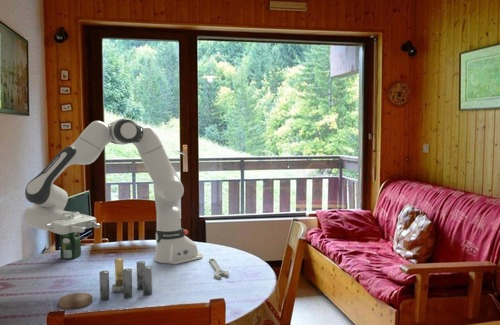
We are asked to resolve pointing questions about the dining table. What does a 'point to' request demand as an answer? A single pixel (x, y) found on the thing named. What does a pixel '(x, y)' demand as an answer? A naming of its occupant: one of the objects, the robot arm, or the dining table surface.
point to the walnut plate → (75, 300)
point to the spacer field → (128, 281)
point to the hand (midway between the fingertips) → (91, 228)
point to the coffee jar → (70, 245)
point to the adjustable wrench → (218, 269)
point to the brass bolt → (118, 276)
